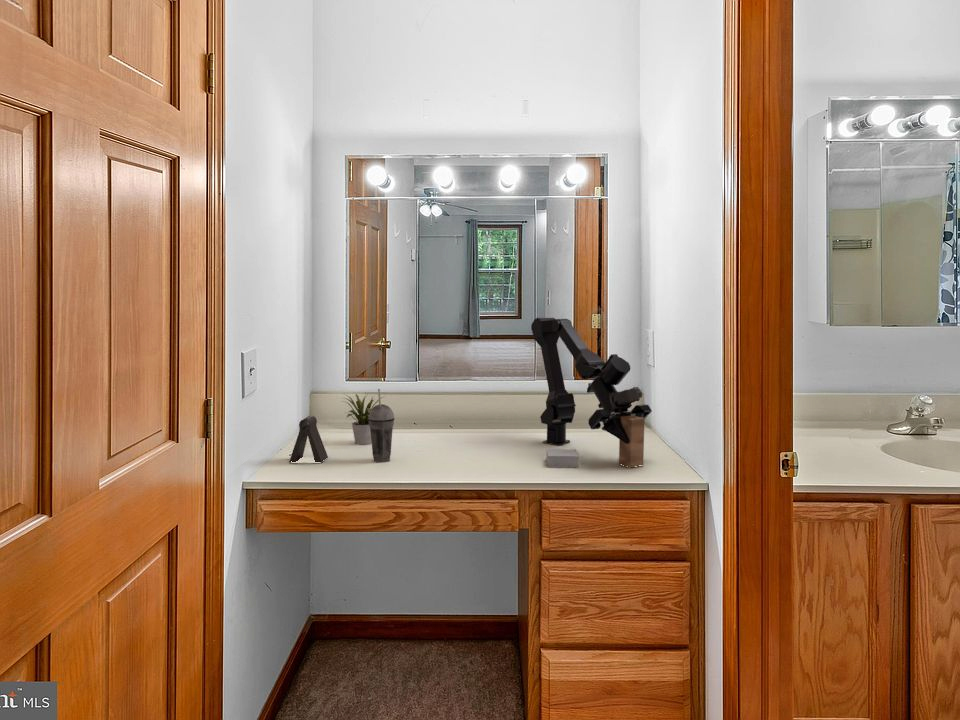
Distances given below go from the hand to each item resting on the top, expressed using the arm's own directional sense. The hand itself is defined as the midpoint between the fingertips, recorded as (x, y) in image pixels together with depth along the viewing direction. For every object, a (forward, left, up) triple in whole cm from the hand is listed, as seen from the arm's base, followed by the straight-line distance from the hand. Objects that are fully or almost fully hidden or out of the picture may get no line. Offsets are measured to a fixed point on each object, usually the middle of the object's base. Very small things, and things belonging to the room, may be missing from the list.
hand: (635, 442), depth 180 cm
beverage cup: (+34, -59, -7) cm, 69 cm away
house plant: (+22, -80, -7) cm, 84 cm away
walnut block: (-1, -1, -7) cm, 7 cm away
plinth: (+8, -17, -7) cm, 20 cm away
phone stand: (+46, -75, -7) cm, 89 cm away
